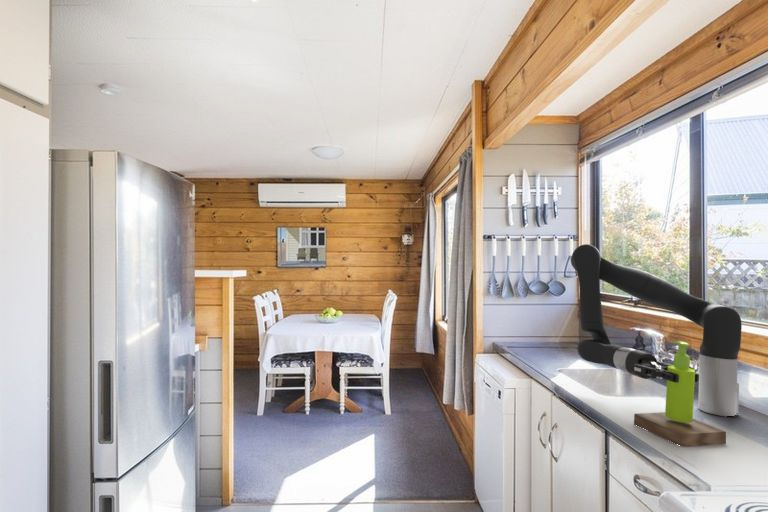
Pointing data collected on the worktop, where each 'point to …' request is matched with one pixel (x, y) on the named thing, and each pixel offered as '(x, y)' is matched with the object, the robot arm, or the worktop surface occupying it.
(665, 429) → the wooden cutting board
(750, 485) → the worktop surface
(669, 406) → the soap dispenser
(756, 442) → the worktop surface
